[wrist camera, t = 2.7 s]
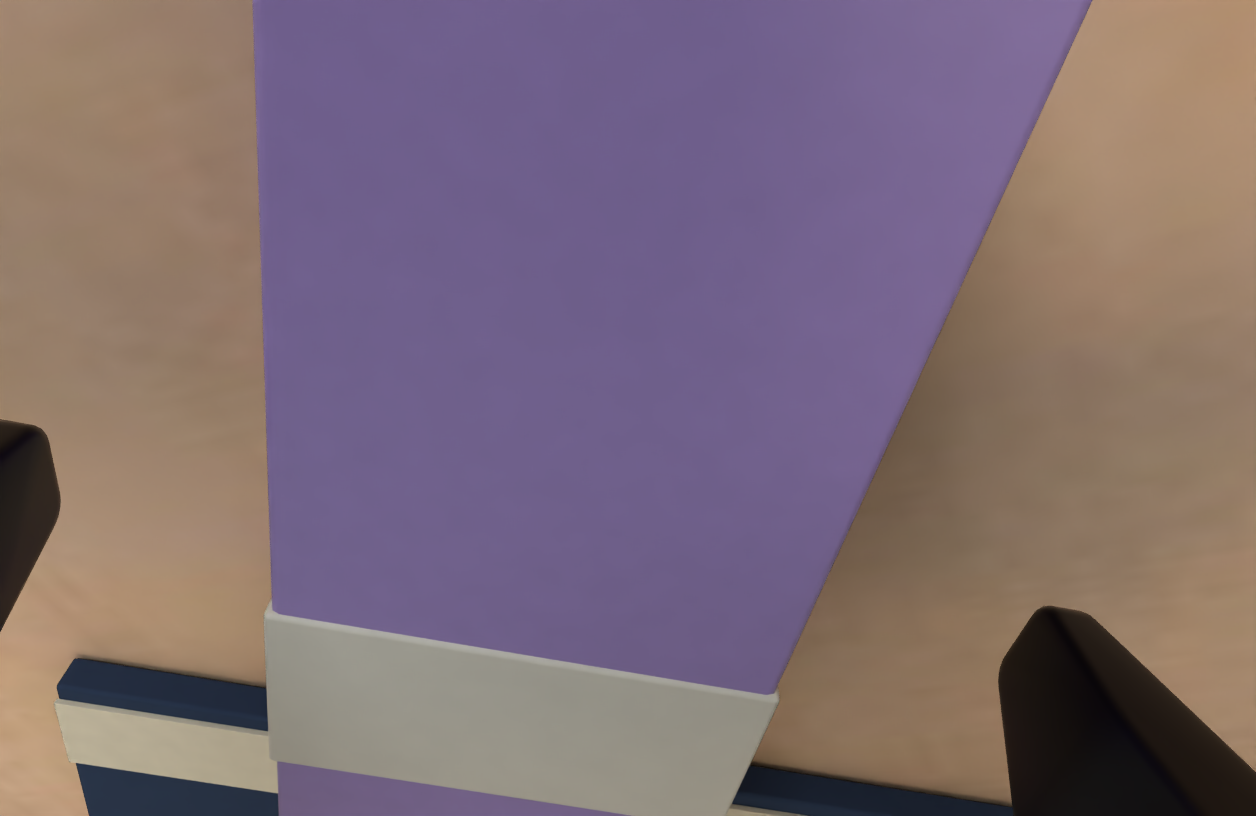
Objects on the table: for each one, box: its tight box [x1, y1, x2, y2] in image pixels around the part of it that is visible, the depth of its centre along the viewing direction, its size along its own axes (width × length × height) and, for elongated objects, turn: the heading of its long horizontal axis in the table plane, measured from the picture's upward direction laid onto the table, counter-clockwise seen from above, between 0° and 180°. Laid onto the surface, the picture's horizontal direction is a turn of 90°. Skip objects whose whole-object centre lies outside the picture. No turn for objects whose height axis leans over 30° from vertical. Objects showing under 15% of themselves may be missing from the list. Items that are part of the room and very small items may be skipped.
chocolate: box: [252, 0, 1092, 816], centre depth 10 cm, size 5×11×4 cm, turn 169°
